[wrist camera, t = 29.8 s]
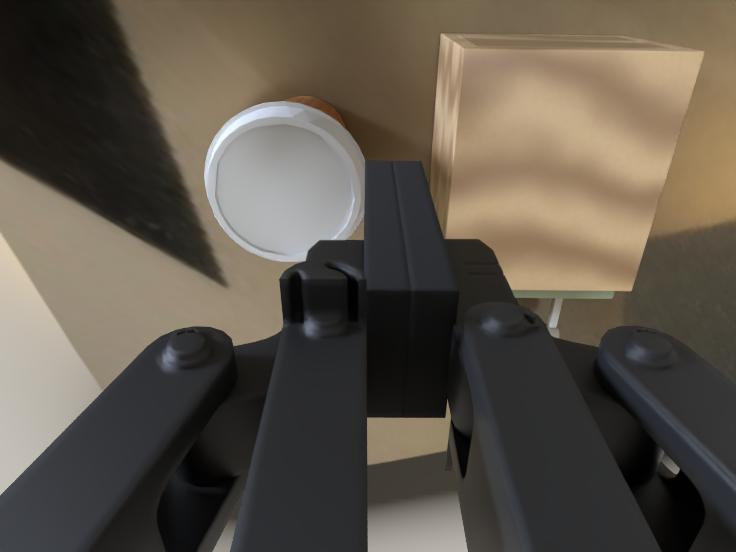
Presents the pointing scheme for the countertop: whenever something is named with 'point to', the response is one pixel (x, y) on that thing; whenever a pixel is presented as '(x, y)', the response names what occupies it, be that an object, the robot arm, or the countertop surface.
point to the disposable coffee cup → (286, 178)
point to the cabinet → (557, 150)
